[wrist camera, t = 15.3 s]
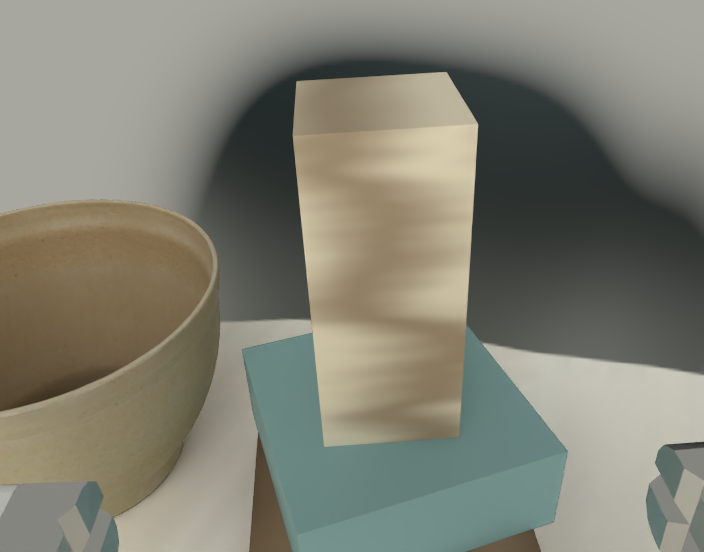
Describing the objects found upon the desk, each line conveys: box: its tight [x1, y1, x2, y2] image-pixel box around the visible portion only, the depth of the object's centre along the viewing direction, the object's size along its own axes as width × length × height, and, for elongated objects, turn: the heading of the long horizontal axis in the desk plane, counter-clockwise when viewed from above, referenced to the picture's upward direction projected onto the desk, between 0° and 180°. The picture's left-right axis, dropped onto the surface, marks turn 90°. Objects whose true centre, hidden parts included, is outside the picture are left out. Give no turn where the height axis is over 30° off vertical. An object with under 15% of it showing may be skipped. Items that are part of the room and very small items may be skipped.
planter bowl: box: [0, 199, 220, 517], centre depth 31 cm, size 16×16×11 cm
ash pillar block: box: [293, 72, 478, 447], centre depth 23 cm, size 5×5×12 cm
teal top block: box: [242, 324, 568, 552], centre depth 27 cm, size 10×10×4 cm
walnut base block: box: [249, 432, 541, 552], centre depth 30 cm, size 11×11×4 cm
